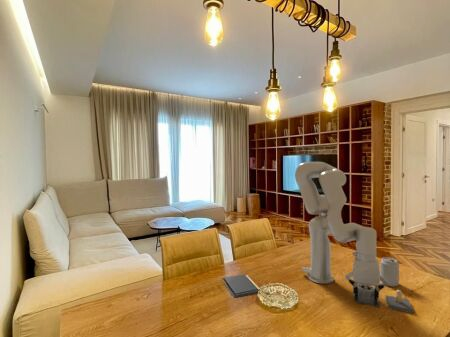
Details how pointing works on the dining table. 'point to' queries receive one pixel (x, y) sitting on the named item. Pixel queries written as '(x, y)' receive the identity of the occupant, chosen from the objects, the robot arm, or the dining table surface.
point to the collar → (366, 293)
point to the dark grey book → (241, 285)
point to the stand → (357, 300)
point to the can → (390, 271)
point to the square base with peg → (399, 302)
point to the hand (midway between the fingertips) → (365, 296)
